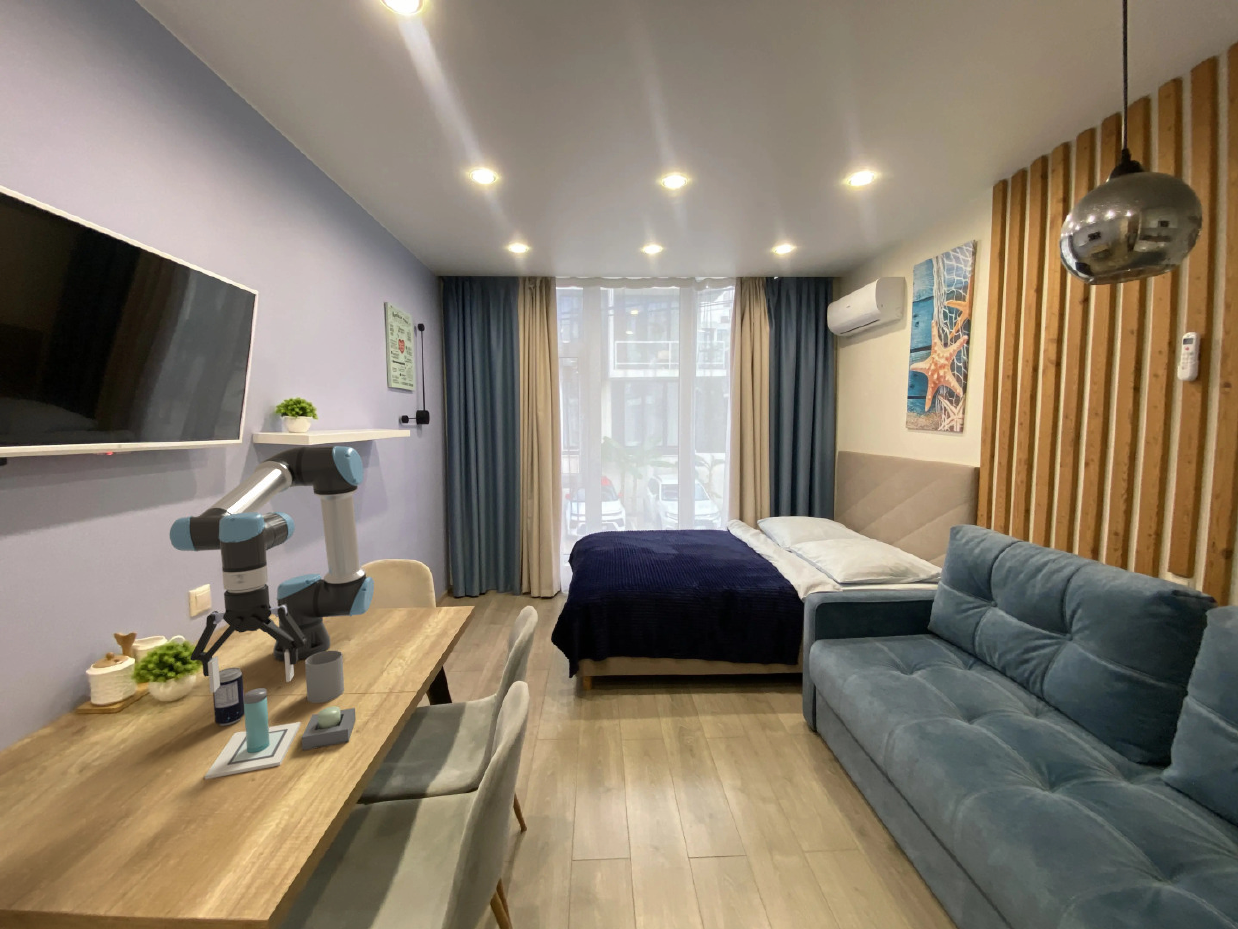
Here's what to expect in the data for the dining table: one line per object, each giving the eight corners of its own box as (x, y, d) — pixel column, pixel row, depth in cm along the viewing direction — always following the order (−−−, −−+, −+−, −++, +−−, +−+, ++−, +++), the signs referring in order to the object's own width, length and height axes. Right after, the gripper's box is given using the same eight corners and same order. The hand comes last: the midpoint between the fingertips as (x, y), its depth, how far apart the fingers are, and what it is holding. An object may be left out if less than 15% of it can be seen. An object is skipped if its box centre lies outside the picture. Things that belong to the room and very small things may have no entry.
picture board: (235, 735, 115) (234, 732, 115) (300, 724, 119) (300, 721, 119) (204, 779, 101) (204, 775, 101) (280, 765, 105) (280, 761, 105)
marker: (250, 743, 111) (247, 690, 110) (272, 739, 112) (269, 687, 111) (243, 755, 107) (240, 699, 106) (266, 750, 108) (262, 696, 107)
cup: (327, 704, 127) (325, 666, 127) (299, 701, 129) (297, 663, 128) (351, 687, 136) (349, 651, 135) (324, 684, 137) (323, 649, 137)
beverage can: (250, 716, 122) (247, 668, 122) (226, 729, 117) (222, 680, 116) (234, 712, 124) (231, 665, 123) (209, 725, 119) (206, 676, 118)
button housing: (312, 727, 118) (312, 714, 118) (355, 719, 121) (355, 707, 121) (302, 750, 109) (301, 737, 109) (348, 742, 112) (347, 729, 112)
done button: (321, 721, 116) (320, 708, 116) (342, 718, 118) (341, 705, 117) (316, 732, 112) (315, 718, 112) (338, 728, 114) (337, 715, 113)
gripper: (163, 600, 98) (172, 703, 100) (309, 586, 106) (315, 682, 108) (182, 588, 105) (191, 684, 107) (318, 575, 113) (323, 666, 115)
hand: (253, 684), depth 108 cm, fingers open, 13 cm apart
